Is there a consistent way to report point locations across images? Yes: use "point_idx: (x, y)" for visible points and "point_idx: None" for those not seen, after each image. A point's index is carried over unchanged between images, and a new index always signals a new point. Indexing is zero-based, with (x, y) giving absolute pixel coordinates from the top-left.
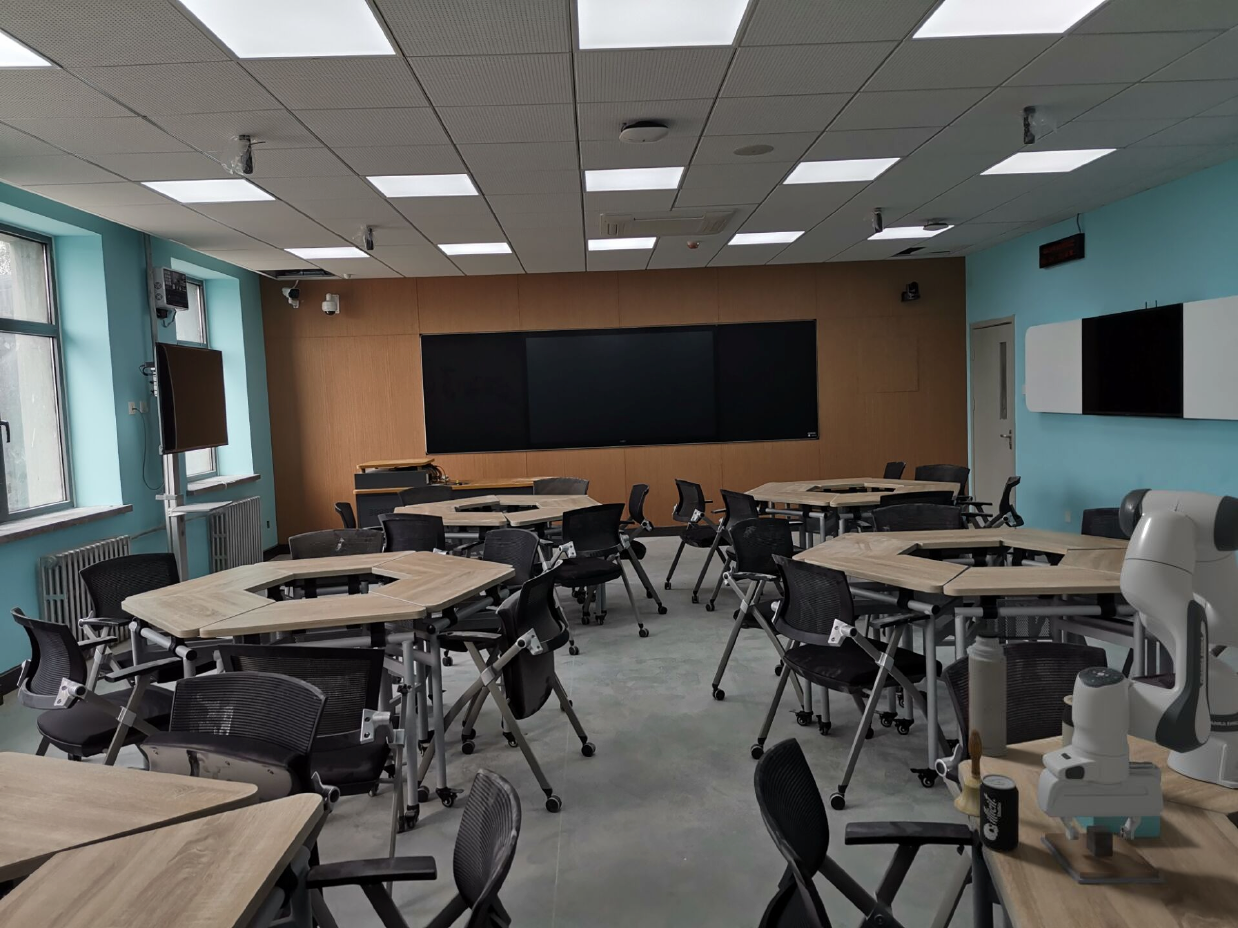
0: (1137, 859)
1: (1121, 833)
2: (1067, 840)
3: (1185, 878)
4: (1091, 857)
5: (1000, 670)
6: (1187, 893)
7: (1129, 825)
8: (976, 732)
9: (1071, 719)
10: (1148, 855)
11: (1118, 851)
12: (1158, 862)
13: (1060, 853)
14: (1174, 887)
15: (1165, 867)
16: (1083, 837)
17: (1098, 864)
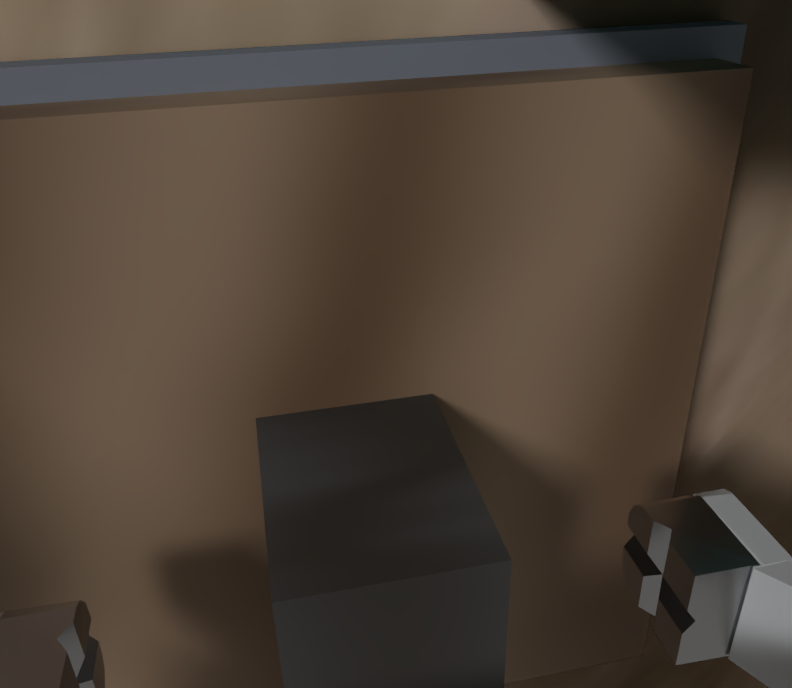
0: (604, 536)
1: (646, 541)
2: (85, 297)
3: (788, 547)
4: (233, 571)
5: None
6: (679, 678)
7: (777, 646)
8: None
9: None
10: (781, 298)
11: (527, 446)
12: (775, 390)
13: None
14: (653, 643)
15: (770, 447)
16: (308, 212)
17: (250, 657)
